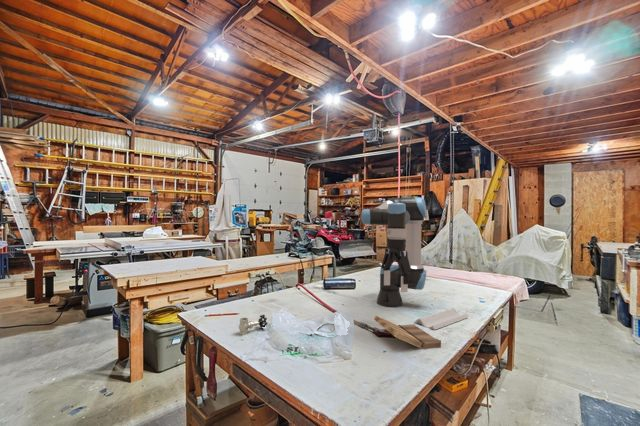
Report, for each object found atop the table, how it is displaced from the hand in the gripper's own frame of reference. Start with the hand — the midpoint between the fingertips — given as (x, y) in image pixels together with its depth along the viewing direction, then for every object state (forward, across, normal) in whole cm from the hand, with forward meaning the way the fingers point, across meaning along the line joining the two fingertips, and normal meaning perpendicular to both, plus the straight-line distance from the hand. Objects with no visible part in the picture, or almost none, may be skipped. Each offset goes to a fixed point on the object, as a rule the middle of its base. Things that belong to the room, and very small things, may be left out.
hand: (395, 288), depth 122 cm
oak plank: (+19, 0, +1) cm, 19 cm away
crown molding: (+22, -16, +38) cm, 46 cm away
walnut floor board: (+22, 0, +12) cm, 25 cm away
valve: (+23, -24, -57) cm, 66 cm away
